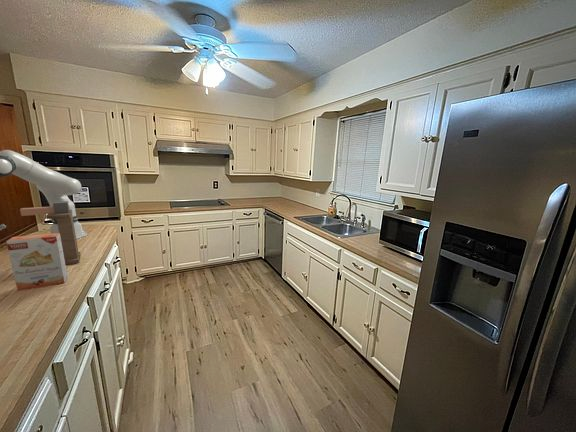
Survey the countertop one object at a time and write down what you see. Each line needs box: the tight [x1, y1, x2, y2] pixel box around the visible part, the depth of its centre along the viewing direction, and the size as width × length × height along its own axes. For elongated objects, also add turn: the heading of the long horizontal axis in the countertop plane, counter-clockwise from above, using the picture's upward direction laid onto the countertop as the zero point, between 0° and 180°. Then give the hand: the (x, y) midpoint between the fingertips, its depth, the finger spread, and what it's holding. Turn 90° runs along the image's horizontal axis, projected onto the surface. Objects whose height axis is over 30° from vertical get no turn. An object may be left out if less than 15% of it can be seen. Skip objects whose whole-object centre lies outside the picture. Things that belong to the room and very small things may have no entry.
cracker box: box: [5, 233, 69, 292], centre depth 97 cm, size 14×6×21 cm, turn 121°
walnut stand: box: [45, 210, 82, 266], centre depth 120 cm, size 12×8×25 cm
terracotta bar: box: [19, 201, 70, 217], centre depth 113 cm, size 5×16×5 cm, turn 127°
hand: (1, 228), depth 106 cm, fingers open, 8 cm apart
